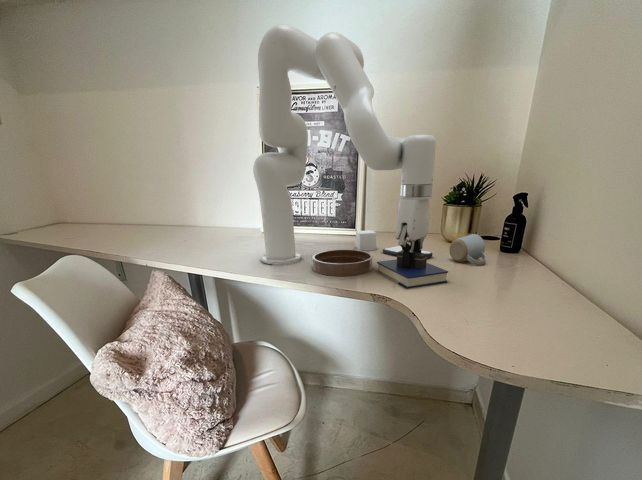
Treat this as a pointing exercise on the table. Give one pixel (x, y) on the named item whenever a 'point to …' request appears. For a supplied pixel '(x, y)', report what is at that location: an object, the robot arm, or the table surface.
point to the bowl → (342, 262)
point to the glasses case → (419, 260)
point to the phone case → (398, 248)
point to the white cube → (366, 240)
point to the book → (413, 274)
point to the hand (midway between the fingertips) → (411, 264)
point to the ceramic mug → (468, 249)
